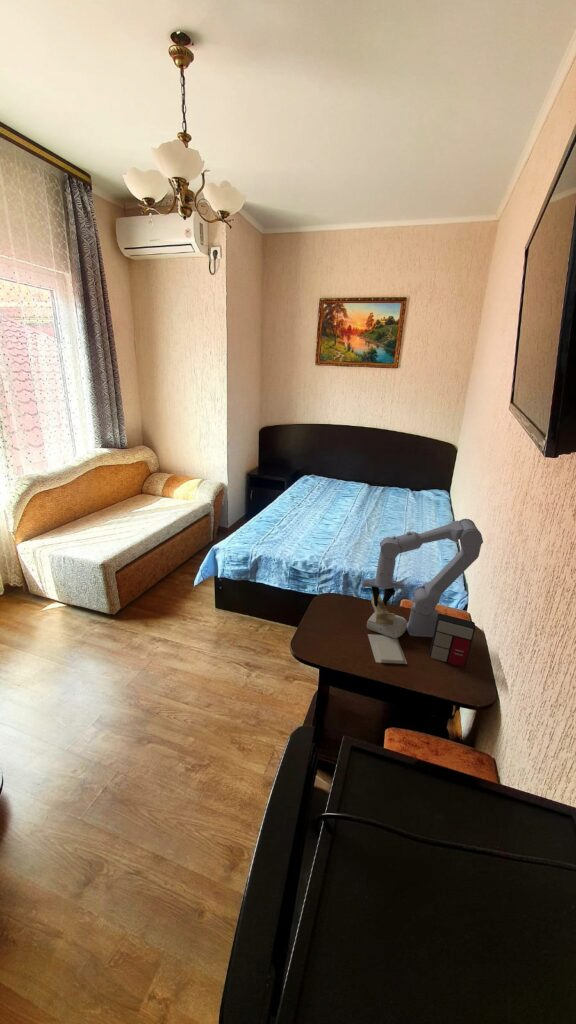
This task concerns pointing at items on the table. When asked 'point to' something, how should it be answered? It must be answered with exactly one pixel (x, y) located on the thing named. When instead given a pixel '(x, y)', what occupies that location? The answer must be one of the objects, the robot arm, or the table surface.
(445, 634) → the grey red panelled box
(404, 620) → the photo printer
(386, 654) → the tile
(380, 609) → the tan wooden slat
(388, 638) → the mat
